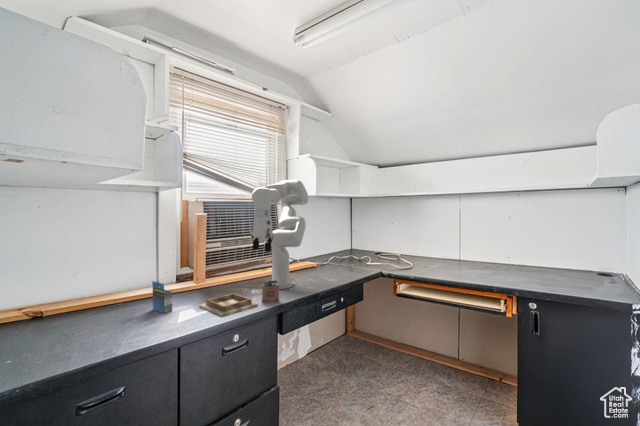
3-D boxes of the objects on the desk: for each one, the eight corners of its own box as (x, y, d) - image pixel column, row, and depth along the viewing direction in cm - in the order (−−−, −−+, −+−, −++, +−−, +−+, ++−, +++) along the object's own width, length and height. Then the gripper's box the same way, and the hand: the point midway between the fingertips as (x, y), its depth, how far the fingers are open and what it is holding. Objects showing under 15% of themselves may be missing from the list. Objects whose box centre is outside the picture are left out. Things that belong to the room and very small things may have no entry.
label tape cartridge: (172, 311, 129) (172, 282, 129) (163, 313, 126) (163, 284, 125) (160, 307, 134) (160, 279, 133) (152, 309, 130) (151, 281, 130)
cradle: (235, 297, 148) (235, 291, 148) (257, 306, 136) (257, 299, 136) (199, 306, 135) (199, 299, 135) (221, 316, 123) (221, 309, 123)
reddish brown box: (262, 303, 140) (262, 281, 140) (261, 301, 144) (261, 279, 143) (279, 301, 142) (279, 280, 142) (278, 299, 146) (278, 278, 145)
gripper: (280, 214, 141) (279, 251, 141) (258, 214, 153) (257, 248, 153) (266, 214, 136) (266, 252, 136) (245, 213, 148) (244, 249, 148)
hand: (261, 250), depth 144 cm, fingers open, 9 cm apart
